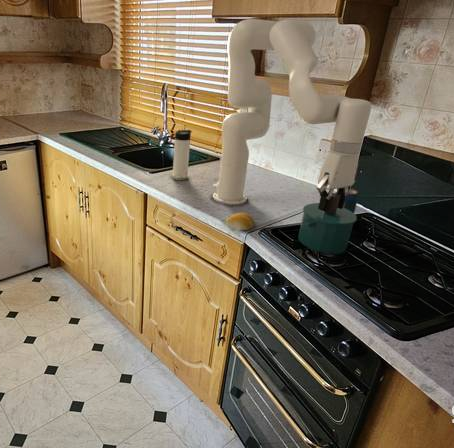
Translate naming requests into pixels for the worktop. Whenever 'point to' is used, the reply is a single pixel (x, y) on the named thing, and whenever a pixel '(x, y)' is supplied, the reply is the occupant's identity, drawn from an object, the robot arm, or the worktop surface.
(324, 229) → the pot
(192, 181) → the worktop surface
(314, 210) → the lid
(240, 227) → the bread roll
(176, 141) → the travel mug
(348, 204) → the soda can
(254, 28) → the robot arm
